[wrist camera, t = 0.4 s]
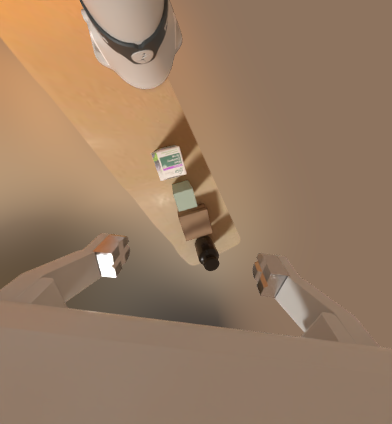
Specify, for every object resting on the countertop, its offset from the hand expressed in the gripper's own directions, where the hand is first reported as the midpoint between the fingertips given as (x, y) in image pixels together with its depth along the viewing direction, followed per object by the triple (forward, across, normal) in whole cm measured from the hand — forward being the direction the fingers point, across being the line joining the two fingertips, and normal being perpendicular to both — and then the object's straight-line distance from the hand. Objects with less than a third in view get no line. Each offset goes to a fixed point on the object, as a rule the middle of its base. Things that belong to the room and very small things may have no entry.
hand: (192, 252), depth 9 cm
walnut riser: (+38, 0, +19) cm, 42 cm away
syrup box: (+37, +10, 0) cm, 39 cm away
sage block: (+37, +5, +9) cm, 39 cm away
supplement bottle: (+38, -4, +29) cm, 48 cm away
